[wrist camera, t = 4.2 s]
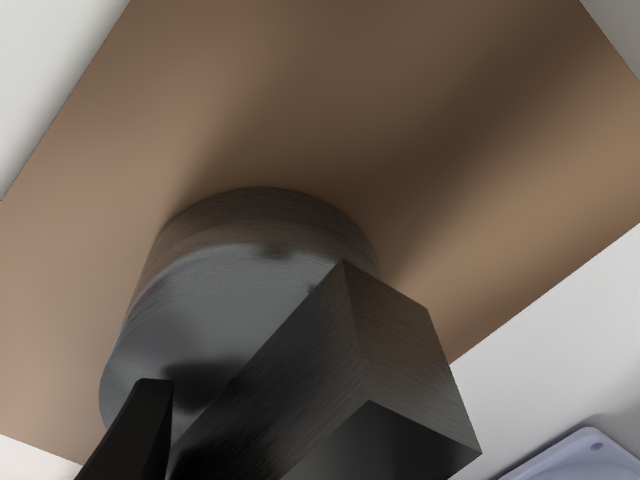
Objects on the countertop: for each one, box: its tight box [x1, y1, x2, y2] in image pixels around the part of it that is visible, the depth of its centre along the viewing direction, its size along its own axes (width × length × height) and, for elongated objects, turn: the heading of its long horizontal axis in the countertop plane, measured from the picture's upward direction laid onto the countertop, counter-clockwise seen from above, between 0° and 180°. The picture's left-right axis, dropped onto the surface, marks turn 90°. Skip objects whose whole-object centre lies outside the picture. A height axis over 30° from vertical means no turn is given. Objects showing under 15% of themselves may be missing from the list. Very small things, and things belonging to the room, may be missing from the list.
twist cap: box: [98, 187, 483, 480], centre depth 11 cm, size 6×8×7 cm
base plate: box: [0, 0, 640, 466], centre depth 15 cm, size 13×20×2 cm, turn 138°
